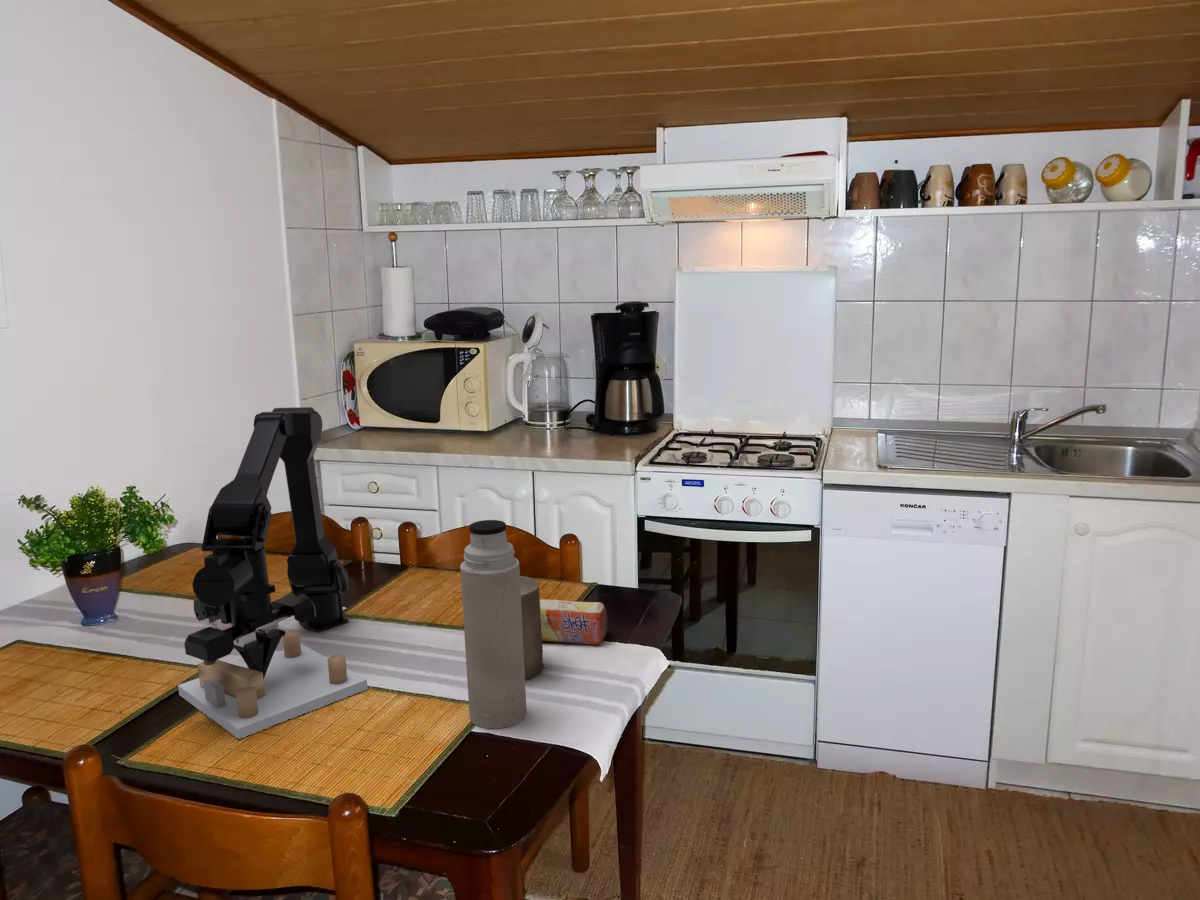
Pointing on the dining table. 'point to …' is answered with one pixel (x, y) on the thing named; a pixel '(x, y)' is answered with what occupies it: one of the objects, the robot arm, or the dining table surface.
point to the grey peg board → (277, 690)
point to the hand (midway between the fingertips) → (259, 680)
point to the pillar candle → (531, 627)
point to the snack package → (573, 621)
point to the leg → (231, 677)
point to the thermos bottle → (493, 627)
